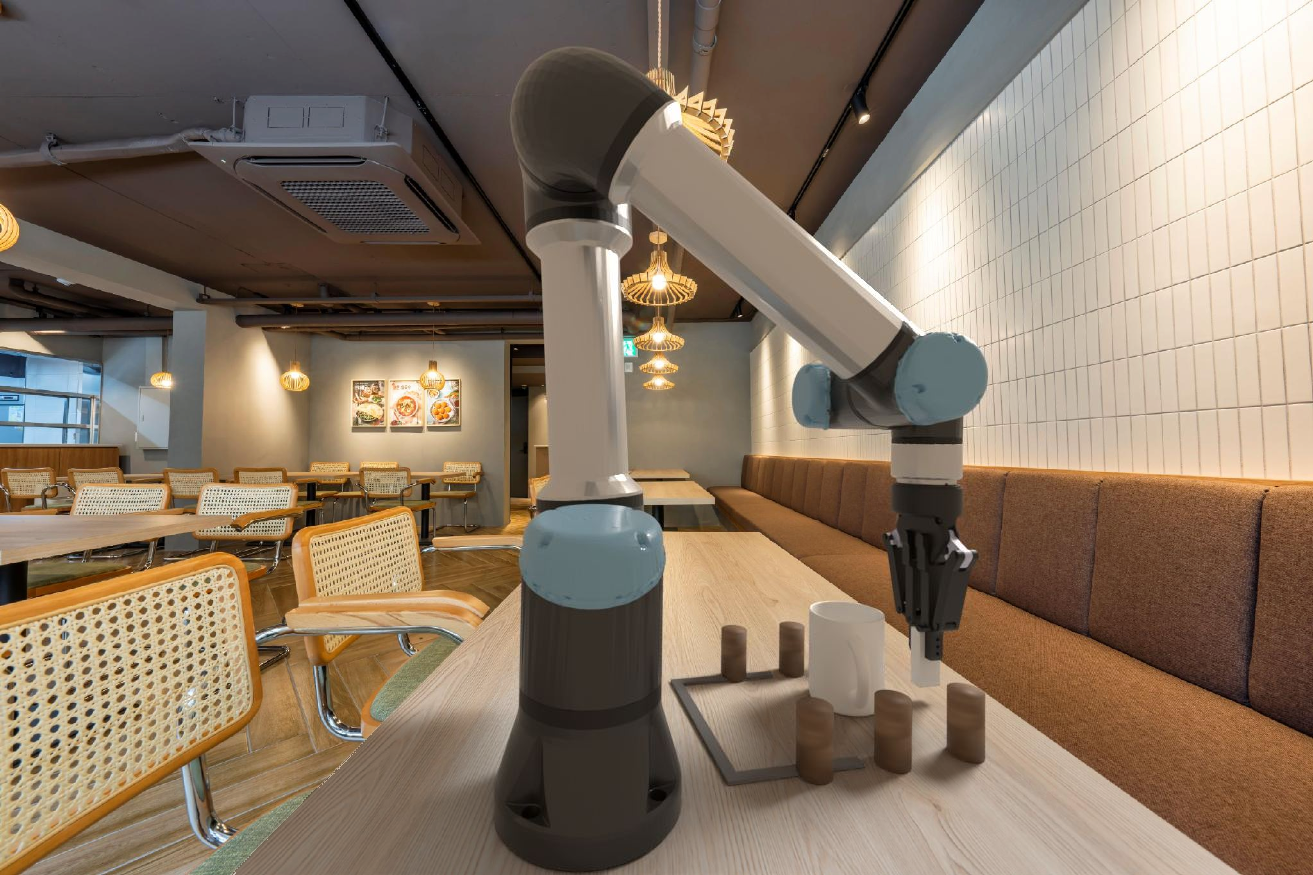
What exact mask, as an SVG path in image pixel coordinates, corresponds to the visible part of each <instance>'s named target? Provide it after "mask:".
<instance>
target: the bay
mask: <svg viewBox="0 0 1313 875" xmlns="http://www.w3.org/2000/svg"><path fill="white" fill-rule="evenodd" d="M774 677H775V675H774V673H772V671H770V670H766V671H765V670H763V671H755V672H746V677H745V681H746V680H747V681H748V680H757V679H759V680H760V679H770V678H771V679H772V678H774ZM723 682H724V683H726V682H728V679H727V678H724V677H723V676H722V675H721V674H720V675H719V674H718V675H707V676H693V677H685V678H683V677H681V678H671V679H670V683H671V685H672V687H673V688H674V690H675V692H676V694H677V696H678V699H680V701H681V703H682V704H683V707H684V708H685V710H686V713H687V715H689V717H690V719H691V721H692V724H693V725H694V726H695V728H696V730H697V732H698V734H699V736H700V738H701V739H702V741H703V743H704V745H705V746H706V748H707V751H708V752H709V754H710V756H711V757H712V759H713V761H714V763H715V765H716V766H717V768H718V770H719V772H720V773H721V775H722V778H723V779H724V781H725V782H726V784H727V786H732V785H739V784H740V785H741V784H748V783H749V784H750V783H756V782H763V781H772V780H777V779H779V780H780V779H786V778H794V777H799V776H798V771H797V770H796V763H793V764H785V765H779V766H778V765H777V766H769V767H762V768H755V769H754V768H753V769H748V770H747V769H746V770H739V771H738V770H737V771H736V769H735V767H734V766H733V764H732V762H731V761H730V759H729V758H728V756H727V754H726V752H725V750H724V749H723V747H722V746H721V744H720V743H719V741H718V739H717V738H716V736H715V734H714V732H713V730H712V729H711V727H710V726H709V724H708V722H707V721H706V719H705V717H704V715H703V714H702V712H701V711H700V709H699V708H698V706H697V705H696V702H695V701H694V699H693V698H692V696H691V694H690V693H689V691H688V689H687V687H686V686H691V685H701V684H712V683H713V684H715V683H723ZM865 765H866V764H865V762H864V761H862V760H861V759H860V757H858V755H855V756H849V757H848V756H847V757H841V758H833V772H838V771H845V770H853V769H861V768H865Z"/></svg>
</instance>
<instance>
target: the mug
mask: <svg viewBox="0 0 1313 875" xmlns="http://www.w3.org/2000/svg"><path fill="white" fill-rule="evenodd" d="M808 608H809V609H808V610H809V611H808V691H809V695H810V697H815V698H820V699H823V700H826V701H828V702H829V703H830V704H832V706H833V708H834V713H835V714H838V715H841V716H847V717H856V718H857V717H858V718H859V717H869V716H874V693H875V692H876V691H878V690H886V689H885V680H886V679H885V676H886V675H885V674H886V672H885V669H886V666H885V665H886V663H885V661H886V660H885V659H886V657H885V654H886V653H885V651H886V650H885V649H886V647H885V646H886V616H885V614H884V612H882V610H879V609H878V608H875V607H872V606H870V605H867V604H862V603H857V602H851V601H844V600H825V601H818V602H814V603H811V604H810V605H809V607H808Z"/></svg>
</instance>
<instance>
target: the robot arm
mask: <svg viewBox="0 0 1313 875" xmlns="http://www.w3.org/2000/svg"><path fill="white" fill-rule="evenodd" d="M510 106H511V107H510V114H509V118H510V120H509V121H510V129H511V130H510V132H511V134H512V135H511V136H512V140H513V144H514V147H515V152H516V154H517V160H518V164H519V167H520V171H521V176H522V186H523V202H524V204H523V206H524V207H523V208H524V225H525V227H524V228H525V229H524V231H525V243H526V247H527V248H528V249H529V250H530V251H531V252H532V253H534V255H535V256H537V258H539V259H540V265H541V266H540V267H541V269H540V270H541V272H540V273H541V289H542V290H541V291H542V294H541V295H542V317H543V318H542V319H543V321H542V322H543V340H544V342H543V343H544V364H545V365H544V366H545V368H544V369H545V373H544V374H545V392H546V397H545V398H546V417H547V418H546V419H547V440H548V441H547V447H548V448H547V449H548V465H549V466H548V467H549V468H548V469H549V471H548V472H549V478H548V481H547V482H546V483H545V484H544V486H543V487H541V489H539V491H537V493H536V495H535V509H536V511H535V512H536V515H534V517H532V518H531V519H529V522H528V523H527V524H526V526H525V528H524V530H523V534H522V544H521V547H520V550H519V553H518V554H519V555H518V566H519V569H520V575H521V578H520V579H521V580H520V581H521V582H520V584H521V585H520V587H521V589H520V619H519V620H520V622H519V623H520V627H519V628H520V629H519V633H520V634H519V664H518V665H519V667H518V669H519V670H518V672H519V674H518V683H519V684H518V686H519V688H518V709H517V712H516V716H515V718H514V721H513V723H512V724H513V725H512V727H511V731H510V733H509V737H508V739H507V742H506V745H505V748H504V751H503V754H502V758H501V761H500V764H499V767H498V770H497V772H496V775H495V780H494V786H493V824H494V826H495V830H496V832H497V834H498V835H499V838H500V840H501V841H502V842H503V843H504V844H505V845H506V846H507V848H509V850H510V851H512V852H513V853H515V854H516V855H517V856H519V857H521V858H522V859H524V860H526V861H528V862H531V863H533V864H534V865H538V866H542V867H545V868H549V869H552V870H557V871H558V870H559V871H567V872H568V871H570V872H582V871H583V872H585V871H595V870H602V869H608V868H612V867H615V866H618V865H623V864H625V863H628V862H630V861H632V860H634V859H637V858H639V857H641V856H642V855H644V854H646V853H648V852H649V851H651V850H652V849H654V848H655V847H656V846H658V845H659V844H661V843H662V841H663V840H664V839H665V838H667V836H668V835H669V834H670V832H672V830H673V828H674V827H675V825H676V823H677V821H678V818H679V816H680V814H681V809H682V800H683V799H682V797H683V796H682V794H683V792H682V791H683V790H682V788H683V787H682V786H683V785H682V784H683V783H682V782H683V778H682V777H683V776H682V768H681V763H680V760H679V757H678V754H677V753H678V752H677V750H676V746H675V743H674V740H673V737H672V733H671V731H670V727H669V723H668V720H667V716H666V714H665V710H664V707H663V702H662V700H663V699H662V691H663V690H662V689H663V688H662V687H663V686H662V683H663V682H662V680H663V679H662V678H663V624H664V623H663V622H664V620H663V618H664V616H663V615H664V614H663V613H664V609H663V608H664V605H663V604H664V573H665V566H666V562H667V552H666V549H665V546H664V533H663V529H662V527H661V524H660V523H659V522H658V520H657V519H656V518H655V517H654V516H652V515H651V514H649V513H647V512H645V506H644V505H645V503H644V489H643V488H642V487H641V486H640V485H639V484H638V483H637V481H635V480H634V479H633V478H632V477H631V475H630V474H629V456H628V455H629V454H628V452H629V451H628V431H627V430H628V429H627V407H626V388H625V387H626V383H625V382H626V380H625V379H626V377H625V357H624V354H625V353H624V352H625V351H624V334H623V333H624V332H623V312H622V311H623V310H622V309H623V307H622V306H623V305H622V287H621V286H622V284H621V264H620V263H621V262H620V261H621V259H622V258H624V256H625V255H626V254H627V253H628V252H629V251H630V250H631V248H632V247H633V243H634V242H633V222H632V221H633V218H632V217H633V216H632V206H633V207H634V208H636V209H637V210H638V211H639V212H640V213H641V214H643V215H644V216H645V217H646V218H647V219H648V220H650V221H651V222H652V223H653V224H654V225H656V226H657V227H658V228H660V230H662V231H663V232H664V233H665V234H667V235H668V236H669V237H670V238H672V240H674V241H675V242H677V243H678V245H680V246H681V247H682V248H683V249H685V250H686V251H687V252H689V253H690V254H691V255H692V256H693V257H694V258H696V260H698V261H699V262H701V263H702V264H703V265H704V266H705V267H706V268H708V269H709V270H710V271H712V272H713V273H714V274H715V275H716V276H717V277H719V279H721V280H722V281H723V282H724V283H725V284H727V285H728V286H729V287H730V288H731V289H733V290H734V291H735V292H737V293H738V294H739V295H740V296H742V297H743V299H745V300H746V301H747V302H749V303H750V304H751V305H752V306H754V307H755V308H756V309H757V310H758V311H760V313H762V314H763V315H764V316H765V317H767V318H768V319H769V320H770V321H771V322H773V324H775V325H776V326H777V327H779V329H781V330H782V331H784V333H786V334H787V335H788V336H790V337H791V338H792V339H793V340H795V342H797V343H798V344H799V345H801V347H802V348H804V349H805V350H807V351H808V353H810V354H811V355H813V356H814V357H815V358H816V359H817V360H818V361H820V362H821V363H820V362H819V363H817V362H816V363H813V362H812V363H807V364H804V365H803V366H801V367H800V369H799V370H798V371H797V373H796V376H795V378H794V380H793V384H792V387H791V388H792V390H791V406H792V407H791V408H792V412H793V415H794V418H795V420H796V422H797V423H798V424H799V425H800V426H802V427H803V428H807V429H818V430H819V429H822V430H823V431H828V430H881V431H890V434H891V435H890V436H891V441H890V442H891V444H890V455H891V456H890V476H891V477H893V478H895V480H896V481H894V482H893V483H892V484H891V485H890V509H891V511H892V512H893V513H894V514H896V515H898V517H897V520H896V523H895V529H894V530H892V531H891V532H883V533H882V536H881V538H882V541H883V544H884V546H885V549H886V551H887V559H888V566H889V567H888V568H889V573H890V580H891V586H892V594H893V602H894V608H895V611H896V613H897V614H898V615H903V617H904V618H905V622H906V623H907V624H908V647H909V648H908V649H909V650H910V683H911V684H913V685H915V686H916V687H918V688H919V689H921V688H932V687H940V685H941V661H942V660H943V658H944V652H943V651H944V648H943V647H944V633H945V632H951V631H952V632H953V631H958V630H959V629H960V625H961V620H962V615H963V610H964V605H965V600H966V596H967V592H968V585H969V581H970V577H971V571H972V570H973V568H974V567H975V565H976V563H977V562H978V560H979V552H978V551H977V549H968V548H967V547H966V546H965V545H964V544H963V543H962V542H961V541H960V537H961V535H960V534H961V533H960V532H959V529H958V526H957V520H958V518H959V517H961V516H962V515H963V514H964V487H962V485H961V484H958V483H957V482H958V481H959V480H962V479H963V478H964V476H963V473H964V470H963V468H964V467H963V465H964V461H963V460H964V448H963V447H964V445H963V444H964V439H963V438H964V416H966V415H968V414H969V413H971V412H973V410H974V409H975V408H976V407H977V406H978V405H979V404H980V402H981V400H982V399H983V397H984V395H985V393H986V390H987V387H988V382H989V369H988V364H987V361H986V358H985V356H984V354H983V351H982V350H981V348H980V347H979V346H978V345H977V344H976V343H975V342H974V341H973V340H972V339H971V338H969V337H967V336H965V335H963V334H959V333H957V332H953V331H952V332H951V331H939V332H938V331H936V332H935V331H934V332H932V331H931V332H927V333H925V332H923V331H922V330H921V329H920V328H919V327H918V326H916V325H915V324H914V323H913V322H912V321H910V320H909V319H908V318H907V317H905V316H904V315H903V314H902V313H901V312H899V310H898V309H896V308H895V306H893V305H891V303H890V302H888V301H887V300H886V299H884V297H883V296H881V295H880V294H879V293H878V292H877V291H875V290H874V289H873V288H872V287H871V286H870V285H869V284H867V283H866V282H865V281H864V280H863V279H861V277H860V276H858V275H857V274H856V273H855V272H853V270H851V269H850V268H849V267H848V266H847V265H845V264H844V263H843V262H842V261H841V260H840V259H838V258H837V257H836V256H835V255H834V254H833V253H831V252H830V251H829V250H828V249H827V248H826V247H825V246H824V245H823V244H821V243H820V242H819V241H818V240H817V239H815V238H814V237H813V236H812V235H811V234H810V233H808V232H807V231H806V229H804V228H803V227H802V226H801V225H799V224H798V222H796V221H795V220H793V219H792V218H791V217H790V216H789V215H788V214H786V213H785V212H784V211H783V210H782V209H780V208H779V207H778V206H777V205H776V204H775V203H774V202H773V201H772V200H771V199H769V198H768V197H767V195H765V194H764V193H762V192H761V191H760V190H759V189H758V188H757V187H756V186H754V185H753V184H752V183H751V182H750V181H749V180H748V179H746V178H745V177H744V176H743V175H742V174H740V172H738V171H737V170H736V169H734V167H732V166H731V165H730V164H729V163H728V162H727V161H725V160H724V159H723V158H722V157H721V156H720V155H718V154H717V153H716V152H715V151H714V150H713V149H711V148H710V147H709V146H708V145H707V144H706V143H705V142H704V141H702V140H701V139H700V138H699V137H698V136H696V135H695V134H694V133H693V132H692V131H691V130H690V129H689V128H687V126H685V125H684V123H683V119H682V118H683V117H682V110H681V104H680V103H679V102H678V100H676V99H674V98H673V97H672V96H671V95H670V94H669V93H667V92H666V90H664V89H663V88H662V87H660V86H659V85H658V84H657V83H656V82H654V80H652V79H651V78H649V76H647V75H646V74H645V73H644V72H642V71H640V70H639V69H638V68H636V67H634V66H633V65H632V64H630V63H628V62H627V61H625V60H623V59H621V58H619V57H617V56H615V55H614V54H611V53H608V52H605V51H603V50H600V49H596V48H594V47H588V46H569V45H568V46H563V47H558V48H555V49H552V50H550V51H548V52H545V53H544V54H542V55H541V56H539V57H538V58H537V59H536V60H534V61H533V62H531V63H530V64H529V66H528V67H527V68H526V69H525V70H524V72H523V74H522V75H521V77H520V78H519V80H518V82H517V84H516V86H515V89H514V93H513V95H512V98H511V105H510Z"/></svg>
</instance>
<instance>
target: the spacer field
mask: <svg viewBox="0 0 1313 875" xmlns="http://www.w3.org/2000/svg"><path fill="white" fill-rule="evenodd" d="M778 625H779V627H778V630H779V632H778V672H779V673H780V674H781V675H782V676H783V675H784V676H785V677H788V678H789V677H790V678H799V677H803V676H804V674H805V637H806V636H805V632H806V631H805V628H806V627H805V625H804V624H802V623H801V622H797V621H789V620H788V621H782V622H779V624H778ZM720 630H721V632H720V633H721V634H720V635H721V637H720V640H721V641H720V647H721V648H720V675H722V676H723V677H724V678H727V679H728V681H727V682H729V683H742V682H744V681H746V680H745V677H746V673H747V650H748V649H747V647H748V646H747V642H748V640H747V639H748V633H747V632H748V629H747V628H746V627H745V626H743V625H737V624H727V625H723V626H721V628H720ZM795 704H796V708H795V710H796V713H795V714H796V717H795V718H796V719H795V720H796V722H795V764H796V770H797V771H798V776H797V777H799V778H800V779H801V780H803V781H804V782H807V783H809V784H813V785H818V786H820V785H827V784H830V783H831V782H832V781H833V780H834V771H833V759H834V720H835V718H834V717H835V716H834V708H833V706H832V704H830V703H829V702H828V701H826V700H823V699H820V698H815V697H811V696H804V697H801V698H798V699H797V700H796V703H795ZM873 719H874V720H873V760H874V761H873V762H874V763H875V764H876V765H877V766H879V767H880V768H881V769H883V770H885V771H888V772H890V773H894V774H907V773H909V772H911V770H912V768H913V762H912V761H913V748H912V747H913V700H912V698H911V697H910V696H908V695H907V694H905V693H903V692H901V691H897V690H892V689H885V690H878V691H876V692H875V693H874V714H873ZM946 751H947V753H949V755H951V756H953V757H954V758H956V759H957V760H959V761H964V762H965V763H970V764H979V763H983V762H985V761H986V693H985V691H984V690H982V689H981V688H979V687H978V686H975V685H972V684H969V683H963V682H950V683H948V684H946Z"/></svg>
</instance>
